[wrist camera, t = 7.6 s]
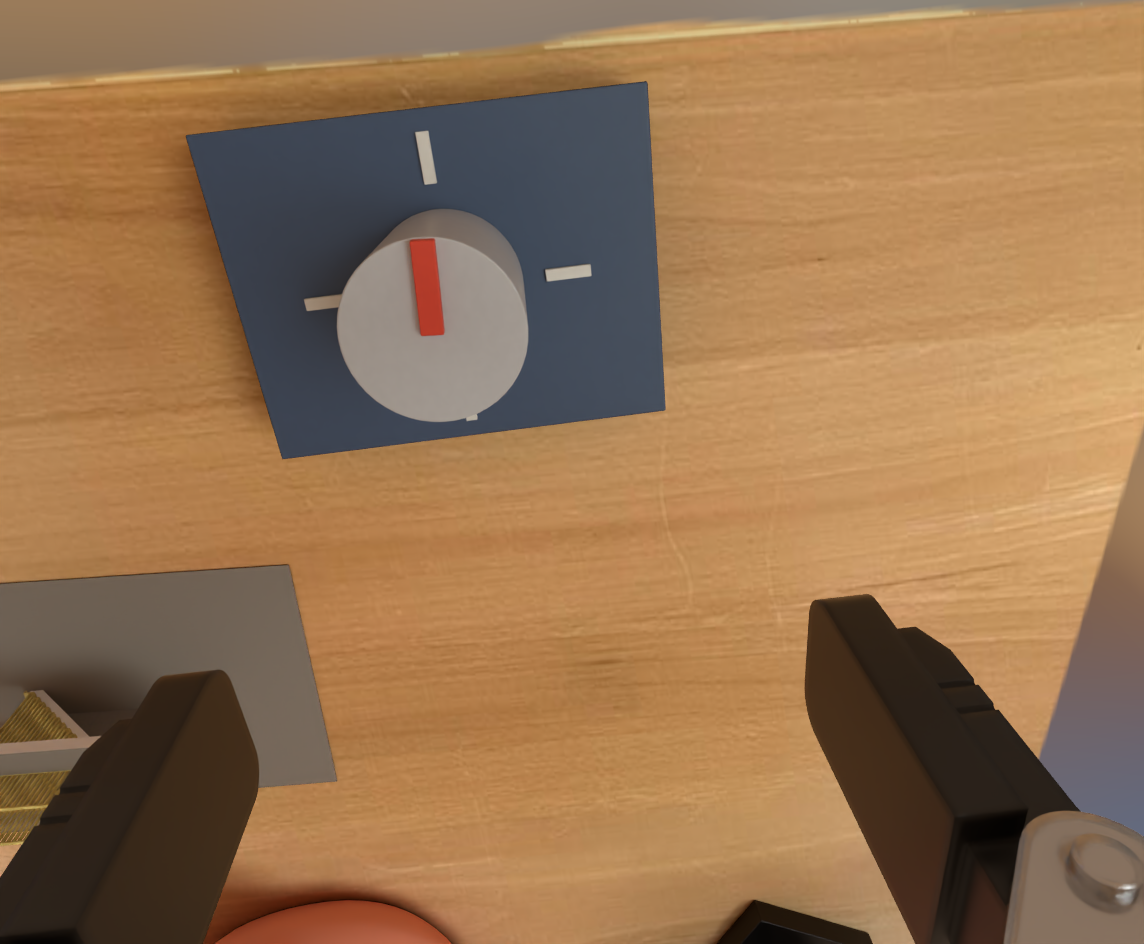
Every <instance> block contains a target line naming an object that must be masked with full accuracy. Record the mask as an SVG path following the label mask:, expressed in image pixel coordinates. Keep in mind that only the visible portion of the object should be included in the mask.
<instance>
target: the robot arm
mask: <svg viewBox="0 0 1144 944" xmlns="http://www.w3.org/2000/svg"><path fill="white" fill-rule="evenodd" d="M805 699H806V706H807V711H808V715H809V719H810V722H811V725H812V728H813V731H814V733H815V735H816V737H817V739H818V741H819V744H820V746H821V748H822V750H823V752H824V754H825V756H826V758H827V760H828V762H829V764H830V766H831V769H832V771H833V773H834V775H835V777H836V779H837V781H838V783H839V785H840V787H841V789H842V791H843V794H844V796H845V798H846V800H847V802H848V804H849V806H850V808H851V810H852V812H853V814H854V817H855V819H856V821H857V823H858V825H859V827H860V829H861V831H862V833H863V835H864V837H865V839H866V842H867V844H868V846H869V848H870V850H871V852H872V854H873V856H874V858H875V860H876V862H877V864H878V867H879V869H880V871H881V873H882V875H883V877H884V879H885V881H886V883H887V885H888V887H889V889H890V892H891V894H892V896H893V898H894V900H895V902H896V904H897V906H898V908H899V910H900V912H901V914H902V917H903V919H904V921H905V923H906V925H907V927H908V929H909V931H910V933H911V935H912V937H913V939H914V942H915V944H1144V837H1143V836H1141V835H1140V834H1139V833H1137V832H1135V831H1134V830H1132V829H1130V828H1128V827H1126V826H1124V825H1122V824H1120V823H1117V822H1115V821H1112V820H1110V819H1107V818H1104V817H1101V816H1097V815H1094V814H1090V813H1084V812H1081V811H1080V810H1079V809H1078V808H1077V807H1076V806H1075V805H1074V803H1073V802H1072V801H1071V800H1070V799H1069V797H1068V796H1067V795H1066V793H1065V792H1064V791H1063V790H1062V788H1061V787H1060V786H1059V785H1058V784H1057V782H1056V781H1055V780H1054V778H1053V777H1052V776H1051V775H1050V773H1049V772H1048V771H1047V770H1046V768H1045V767H1044V766H1043V765H1042V763H1041V762H1040V761H1039V760H1038V758H1037V757H1036V756H1035V755H1034V753H1033V752H1032V751H1031V750H1030V748H1029V747H1028V746H1027V745H1026V743H1025V742H1024V741H1023V740H1022V738H1021V737H1020V736H1019V735H1018V733H1017V732H1016V731H1015V730H1014V728H1013V727H1012V726H1011V725H1010V724H1009V722H1008V721H1007V720H1006V719H1005V717H1004V716H1003V715H1002V714H1001V712H1000V711H999V710H995V709H994V706H993V702H992V701H991V700H990V699H989V697H988V696H987V695H986V694H985V692H984V691H983V690H982V689H981V687H980V686H979V685H975V683H974V679H973V677H972V676H971V675H970V674H969V672H968V671H967V670H966V669H965V667H964V666H963V665H962V664H961V662H960V661H959V660H958V659H957V657H956V656H955V655H954V654H953V652H952V651H951V650H950V649H948V648H947V647H945V646H944V645H942V644H941V643H939V642H938V641H936V640H935V639H933V638H932V637H930V636H929V635H927V634H926V633H924V632H923V631H921V630H920V629H918V628H917V627H909V628H900V629H897V628H896V627H895V625H894V624H893V623H892V621H891V620H890V618H889V617H888V616H887V614H886V613H885V612H884V610H883V609H882V608H881V606H880V605H879V603H878V602H877V601H876V600H875V598H874V597H872V596H871V595H869V594H864V595H855V596H846V597H837V598H828V599H820V600H814V601H813V602H812V604H811V606H810V611H809V624H808V640H807V656H806V672H805ZM258 786H259V761H258V755H257V751H256V748H255V745H254V743H253V740H252V737H251V734H250V732H249V729H248V726H247V723H246V721H245V718H244V715H243V712H242V710H241V707H240V704H239V701H238V699H237V696H236V693H235V690H234V688H233V685H232V682H231V680H230V678H229V676H228V675H227V674H226V672H224V671H223V670H219V669H218V670H209V671H200V672H192V673H183V674H174V675H165V676H162V677H160V678H158V679H157V680H156V681H155V683H154V684H153V685H152V687H151V689H150V690H149V692H148V693H147V695H146V697H145V698H144V700H143V701H142V703H141V705H140V706H139V708H138V710H137V711H136V713H135V714H134V716H133V718H132V719H124V720H119V721H118V722H117V723H115V724H114V725H113V726H112V727H111V728H110V729H109V730H108V731H107V732H105V733H104V734H103V735H102V736H101V737H100V738H99V739H98V740H96V741H95V742H94V743H93V744H92V745H91V746H90V747H89V748H87V749H86V750H85V751H84V752H83V753H82V755H81V756H80V758H79V759H78V761H77V762H76V764H75V765H74V767H73V768H72V770H71V771H70V773H69V774H68V776H67V777H66V779H65V781H64V782H63V784H62V785H61V787H60V793H59V795H55V796H54V797H53V799H52V800H51V802H50V803H49V805H48V806H47V808H46V809H45V811H44V812H43V814H42V815H41V817H40V824H39V826H34V827H33V829H32V830H31V832H30V833H29V835H28V836H27V838H26V839H25V841H24V842H23V844H22V845H21V847H20V848H19V850H18V851H17V853H16V855H15V856H14V858H13V859H12V861H11V862H10V864H9V865H8V867H7V868H6V870H5V871H4V873H3V874H2V876H1V877H0V944H203V941H204V938H205V936H206V933H207V930H208V928H209V925H210V922H211V919H212V917H213V914H214V911H215V909H216V906H217V903H218V900H219V898H220V895H221V892H222V890H223V887H224V884H225V882H226V879H227V876H228V873H229V871H230V868H231V865H232V863H233V860H234V857H235V854H236V852H237V849H238V846H239V844H240V841H241V838H242V835H243V833H244V830H245V827H246V825H247V822H248V819H249V816H250V814H251V811H252V808H253V806H254V803H255V800H256V796H257V792H258Z"/></svg>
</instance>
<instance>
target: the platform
mask: <svg viewBox="0 0 1144 944" xmlns="http://www.w3.org/2000/svg"><path fill="white" fill-rule="evenodd" d="M218 669H219V670H223V671H224V672H226V674H227V675H228V676H229V678H230V680H231V682H232V685H233V688H234V690H235V693H236V696H237V699H238V701H239V704H240V707H241V710H242V712H243V715H244V718H245V721H246V723H247V726H248V729H249V732H250V734H251V737H252V740H253V743H254V745H255V748H256V751H257V755H258V761H259V786H258V788H261V787H274V786H286V785H298V784H311V783H323V782H335V781H337V778H336V773H335V769H334V764H333V760H332V755H331V751H330V746H329V742H328V738H327V733H326V729H325V724H324V720H323V715H322V711H321V706H320V702H319V697H318V693H317V688H316V684H315V680H314V675H313V671H312V666H311V662H310V657H309V653H308V648H307V644H306V639H305V635H304V631H303V626H302V622H301V617H300V613H299V608H298V604H297V599H296V595H295V590H294V586H293V581H292V577H291V573H290V568H289V565H282V566H267V567H252V568H236V569H221V570H206V571H191V572H175V573H160V574H145V575H129V576H114V577H99V578H84V579H68V580H53V581H38V582H22V583H7V584H0V833H1V835H0V841H1V839H2V838H3V836H4V835H5V833H7V834H6V835H5V837H4V838H3V839H2V841H1V842H0V846H5V845H17V844H23V842H24V841H25V839H26V838H27V836H28V835H29V833H30V832H31V830H32V829H33V827H34V826H39V824H40V817H41V815H42V814H43V812H44V811H45V809H46V808H47V806H48V805H49V803H50V802H51V800H52V799H53V797H54V796H55V795H59V793H60V787H61V785H62V784H63V782H64V781H65V779H66V777H67V776H68V774H69V773H70V771H71V770H72V768H73V767H74V765H75V764H76V762H77V761H78V759H79V758H80V756H81V755H82V753H83V752H84V751H85V750H86V749H87V748H89V747H90V746H91V745H92V744H93V743H94V742H95V741H96V740H98V739H99V738H100V737H101V736H102V735H103V734H104V733H105V732H107V731H108V730H109V729H110V728H111V727H112V726H113V725H114V724H115V723H117V722H118V721H119V720H124V719H132V718H133V716H134V714H135V713H136V711H137V710H138V708H139V706H140V705H141V703H142V701H143V700H144V698H145V697H146V695H147V693H148V692H149V690H150V689H151V687H152V685H153V684H154V683H155V681H156V680H157V679H158V678H160V677H162V676H165V675H174V674H183V673H192V672H200V671H209V670H218ZM23 831H24V832H23ZM28 831H29V832H28ZM11 832H13V833H12V834H11ZM17 832H18V833H17ZM22 832H23V833H22ZM27 832H28V834H27V835H26V833H27ZM16 833H17V834H16ZM21 833H22V835H21V836H20V834H21ZM10 834H11V835H10ZM15 834H16V836H15ZM9 835H10V837H9ZM25 835H26V837H25V838H24V836H25ZM14 836H15V837H14ZM19 836H20V838H19V839H18V837H19ZM8 837H9V838H8ZM13 837H14V839H13ZM7 838H8V840H7ZM23 838H24V840H22V839H23ZM12 839H13V840H12ZM17 839H18V841H16V840H17ZM6 840H7V841H6ZM11 840H12V841H11ZM5 841H6V842H5Z"/></svg>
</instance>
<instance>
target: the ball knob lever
mask: <svg viewBox="0 0 1144 944" xmlns="http://www.w3.org/2000/svg"><path fill="white" fill-rule="evenodd" d="M717 944H873V943H872V941H871V938H870V936H869V934H868V933H865V932H862V931H858V930H855V929H851V928H848V927H844V926H841V925H838V924H834V923H831V922H827V921H824V920H820V919H817V918H814V917H810V916H807V915H803V914H800V913H796V912H793V911H789V910H786V909H783V908H779V907H776V906H772V905H769V904H765V903H762V902H759V901H754V902H753V903H752V904H751V905H750V906H749V908H748V909H747V910H746V911H745V912H744V913H743V914H742V916H741V917H740V918H739V919H738V920H737V921H736V922H735V924H734V925H733V926H732V927H731V928H730V929H729V930H728V932H727V933H726V934H725V935H724V936H723V937H722V938H721V940H720V941H719V942H718V943H717Z"/></svg>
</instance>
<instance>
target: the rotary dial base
mask: <svg viewBox="0 0 1144 944" xmlns="http://www.w3.org/2000/svg"><path fill="white" fill-rule="evenodd" d="M186 139H187V142H188V146H189V149H190V152H191V156H192V159H193V162H194V166H195V169H196V172H197V176H198V179H199V182H200V186H201V189H202V192H203V196H204V199H205V202H206V206H207V209H208V212H209V216H210V219H211V222H212V226H213V229H214V232H215V236H216V239H217V242H218V246H219V249H220V252H221V256H222V259H223V262H224V266H225V269H226V273H227V276H228V279H229V283H230V286H231V289H232V293H233V296H234V299H235V303H236V306H237V309H238V313H239V316H240V319H241V323H242V326H243V329H244V333H245V336H246V339H247V343H248V346H249V349H250V353H251V356H252V359H253V363H254V366H255V369H256V373H257V376H258V379H259V383H260V386H261V389H262V393H263V396H264V399H265V403H266V406H267V409H268V413H269V416H270V419H271V423H272V426H273V429H274V433H275V436H276V439H277V443H278V446H279V449H280V453H281V456H282V459H288V458H296V457H304V456H312V455H320V454H327V453H335V452H343V451H351V450H359V449H367V448H374V447H382V446H390V445H398V444H406V443H414V442H421V441H429V440H437V439H445V438H453V437H461V436H468V435H476V434H484V433H492V432H500V431H508V430H515V429H523V428H531V427H539V426H547V425H555V424H562V423H570V422H578V421H586V420H594V419H602V418H610V417H617V416H625V415H633V414H641V413H649V412H657V411H664V410H665V409H666V408H665V390H664V372H663V354H662V336H661V318H660V300H659V282H658V264H657V246H656V228H655V210H654V192H653V174H652V155H651V137H650V119H649V101H648V83H647V82H646V81H645V82H636V83H627V84H619V85H610V86H602V87H593V88H585V89H576V90H568V91H559V92H550V93H542V94H533V95H525V96H516V97H508V98H499V99H491V100H482V101H474V102H465V103H456V104H448V105H439V106H431V107H422V108H414V109H405V110H397V111H388V112H379V113H371V114H362V115H354V116H345V117H337V118H328V119H320V120H311V121H302V122H294V123H285V124H277V125H268V126H260V127H251V128H243V129H234V130H226V131H217V132H208V133H200V134H191V135H186ZM434 209H454V210H460V211H464V212H468V213H471V214H473V215H476V216H478V217H480V218H482V219H484V220H485V221H487V222H488V223H490V224H491V225H492V226H494V227H495V228H496V229H497V230H498V231H499V232H500V233H501V234H502V235H503V236H504V237H505V238H506V239H507V241H508V242H509V243H510V245H511V246H512V248H513V250H514V252H515V253H516V255H517V258H518V260H519V263H520V266H521V270H522V274H523V281H524V290H525V300H526V310H527V321H528V346H527V353H526V357H525V360H524V364H523V366H522V368H521V371H520V373H519V375H518V377H517V378H516V380H515V382H514V383H513V385H512V386H511V387H510V388H509V390H508V391H507V392H506V393H505V394H504V395H503V396H502V397H501V398H500V399H499V400H498V401H497V402H495V403H494V404H493V405H491V406H490V407H489V408H487V409H485V410H483V411H481V412H480V413H478V414H475V415H472V416H470V417H467V418H463V419H459V420H455V421H447V422H429V421H421V420H416V419H412V418H408V417H406V416H403V415H400V414H398V413H395V412H394V411H392V410H390V409H388V408H386V407H384V406H383V405H381V404H380V403H378V402H377V401H376V400H374V399H373V398H372V397H371V396H370V395H369V394H367V393H366V392H365V390H364V389H363V388H362V387H361V386H360V385H359V384H358V382H357V381H356V380H355V378H354V377H353V375H352V374H351V372H350V370H349V369H348V367H347V365H346V363H345V360H344V358H343V355H342V353H341V349H340V345H339V341H338V334H337V313H338V307H339V302H340V299H341V296H342V293H343V290H344V288H345V286H346V284H347V282H348V280H349V278H350V277H351V276H352V274H353V273H354V271H355V270H356V269H357V267H358V266H359V265H360V264H361V263H362V262H363V261H364V260H365V259H366V258H367V257H368V256H369V255H370V254H371V253H372V252H373V250H374V249H375V248H376V247H377V246H378V245H379V244H380V243H381V242H382V241H383V240H384V239H385V238H386V237H387V236H388V235H389V234H390V232H391V231H392V230H393V229H394V228H395V227H396V226H398V225H399V224H400V223H401V222H403V221H404V220H406V219H408V218H409V217H411V216H413V215H416V214H418V213H421V212H424V211H428V210H434Z"/></svg>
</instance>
